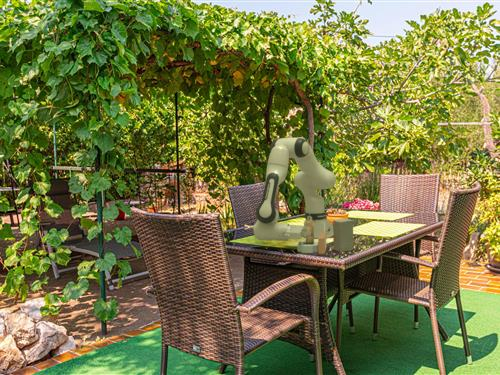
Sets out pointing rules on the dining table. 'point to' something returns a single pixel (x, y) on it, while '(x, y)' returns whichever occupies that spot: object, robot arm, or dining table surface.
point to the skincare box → (343, 235)
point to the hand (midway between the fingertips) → (311, 232)
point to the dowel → (311, 228)
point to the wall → (322, 243)
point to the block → (307, 247)
